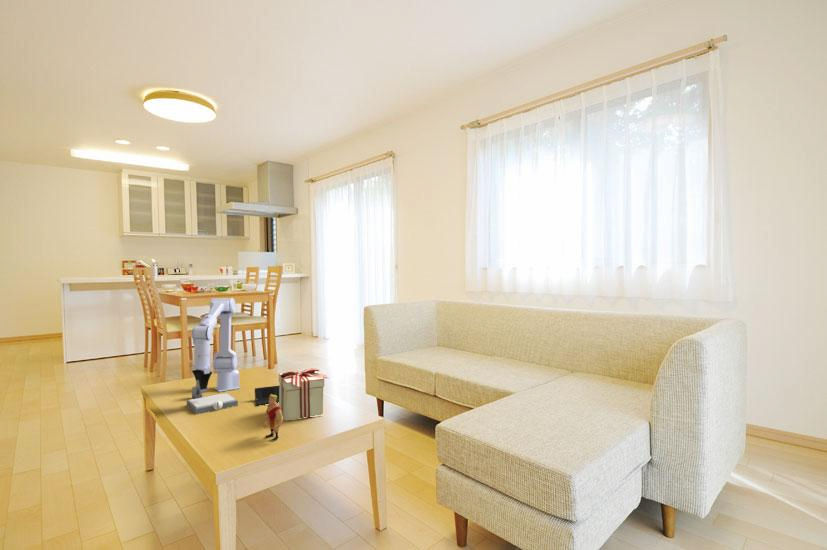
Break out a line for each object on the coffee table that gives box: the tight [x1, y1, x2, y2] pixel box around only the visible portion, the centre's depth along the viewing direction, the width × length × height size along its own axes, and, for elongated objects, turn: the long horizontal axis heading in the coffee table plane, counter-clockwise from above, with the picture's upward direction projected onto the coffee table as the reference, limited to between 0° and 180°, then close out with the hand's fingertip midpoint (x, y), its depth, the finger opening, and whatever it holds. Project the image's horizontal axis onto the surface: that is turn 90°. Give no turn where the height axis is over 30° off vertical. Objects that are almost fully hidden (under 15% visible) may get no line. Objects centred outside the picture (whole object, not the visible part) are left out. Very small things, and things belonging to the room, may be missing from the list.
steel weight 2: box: [191, 385, 203, 399], centre depth 179 cm, size 4×4×5 cm
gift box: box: [278, 367, 329, 422], centre depth 160 cm, size 17×18×17 cm
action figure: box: [262, 394, 284, 441], centre depth 136 cm, size 10×4×15 cm, turn 47°
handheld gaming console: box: [254, 385, 279, 407], centre depth 176 cm, size 12×7×10 cm
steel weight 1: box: [195, 379, 208, 394], centre depth 167 cm, size 4×4×5 cm
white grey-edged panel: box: [186, 392, 239, 415], centre depth 169 cm, size 16×15×4 cm
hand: (201, 388), depth 167 cm, fingers closed on steel weight 1, 4 cm apart
